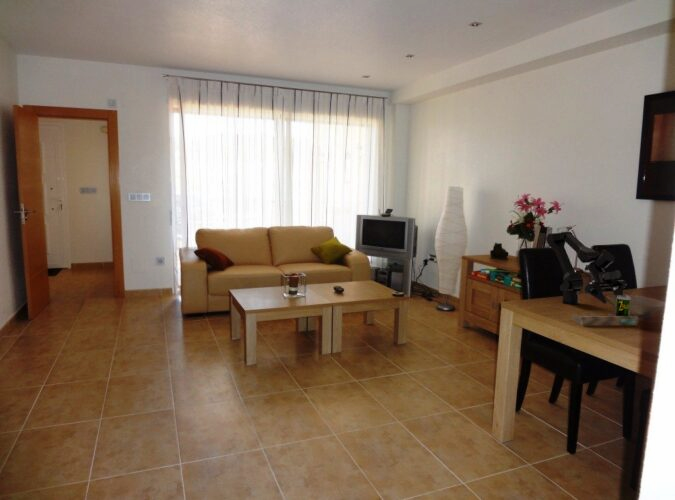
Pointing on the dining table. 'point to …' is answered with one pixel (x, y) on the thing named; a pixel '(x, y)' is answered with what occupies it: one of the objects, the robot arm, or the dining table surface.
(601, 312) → the dining table surface
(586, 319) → the can rack
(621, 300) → the beer can
